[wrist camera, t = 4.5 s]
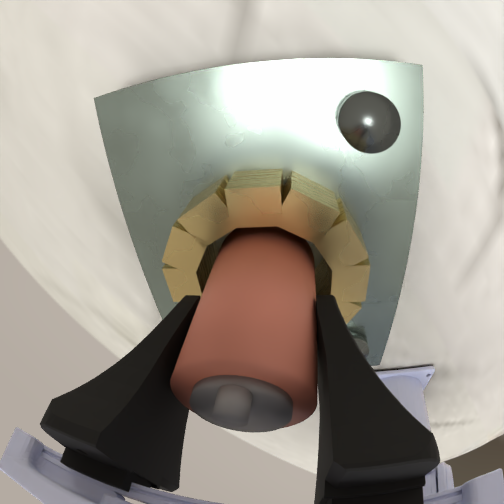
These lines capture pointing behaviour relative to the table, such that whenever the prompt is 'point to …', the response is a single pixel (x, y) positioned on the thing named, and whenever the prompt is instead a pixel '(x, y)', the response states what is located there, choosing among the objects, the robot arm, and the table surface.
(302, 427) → the table surface
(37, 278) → the table surface
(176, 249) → the metal plate with ring
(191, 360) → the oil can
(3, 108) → the table surface
